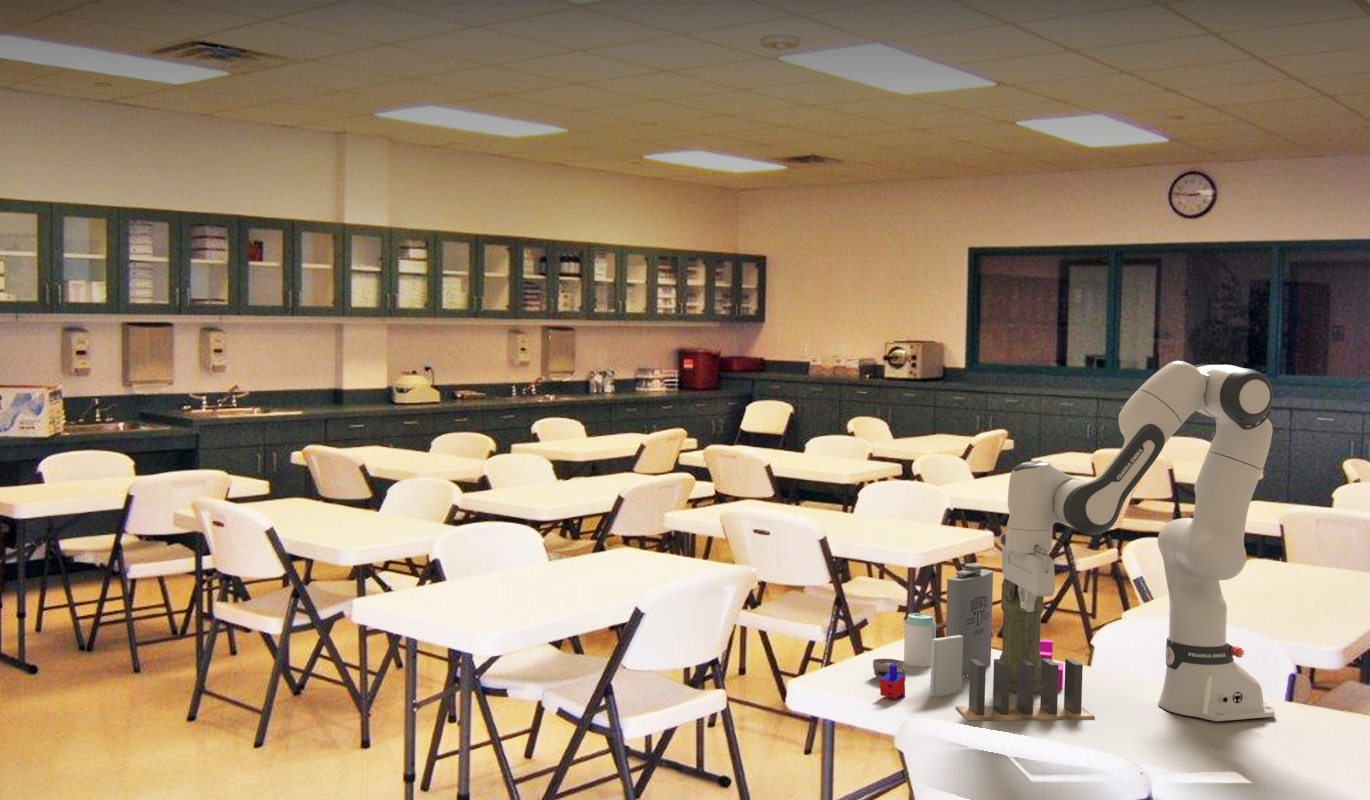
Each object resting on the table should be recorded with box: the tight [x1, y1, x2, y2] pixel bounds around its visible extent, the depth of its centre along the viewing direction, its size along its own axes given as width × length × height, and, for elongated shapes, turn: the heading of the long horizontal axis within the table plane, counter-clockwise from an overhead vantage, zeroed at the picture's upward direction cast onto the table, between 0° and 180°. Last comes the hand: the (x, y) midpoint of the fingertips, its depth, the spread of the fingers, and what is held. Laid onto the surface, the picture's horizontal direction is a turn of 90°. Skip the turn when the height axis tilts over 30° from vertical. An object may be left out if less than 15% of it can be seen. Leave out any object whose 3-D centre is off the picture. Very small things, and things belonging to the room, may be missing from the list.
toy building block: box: [879, 664, 906, 699], centre depth 270 cm, size 4×4×8 cm
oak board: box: [955, 704, 1096, 721], centre depth 262 cm, size 26×8×1 cm, turn 96°
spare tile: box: [1016, 659, 1035, 715], centre depth 262 cm, size 2×5×10 cm, turn 5°
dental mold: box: [872, 658, 906, 682], centre depth 284 cm, size 8×7×5 cm
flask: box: [945, 563, 994, 678], centre depth 293 cm, size 17×5×25 cm, turn 141°
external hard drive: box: [929, 635, 963, 698], centre depth 275 cm, size 2×8×12 cm, turn 123°
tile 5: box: [1063, 658, 1084, 714], centre depth 263 cm, size 2×5×10 cm, turn 6°
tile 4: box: [1039, 659, 1059, 714], centre depth 262 cm, size 2×5×10 cm, turn 6°
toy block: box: [1040, 638, 1064, 690], centre depth 289 cm, size 15×6×8 cm, turn 163°
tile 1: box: [968, 659, 987, 715], centre depth 261 cm, size 2×5×10 cm, turn 6°
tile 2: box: [992, 658, 1010, 715], centre depth 262 cm, size 2×5×10 cm, turn 6°
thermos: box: [999, 577, 1045, 696], centre depth 280 cm, size 9×12×35 cm
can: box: [903, 612, 937, 668], centre depth 299 cm, size 7×7×12 cm
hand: (1027, 610), depth 261 cm, fingers closed
